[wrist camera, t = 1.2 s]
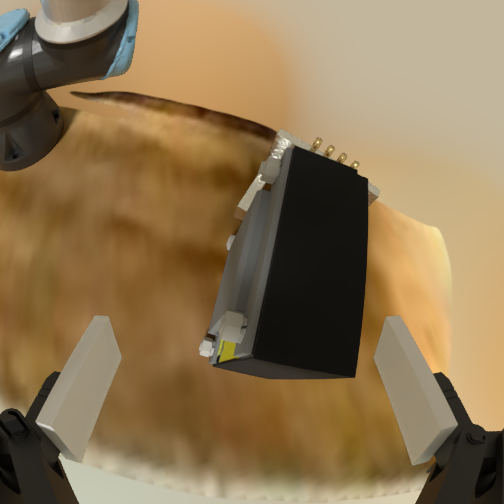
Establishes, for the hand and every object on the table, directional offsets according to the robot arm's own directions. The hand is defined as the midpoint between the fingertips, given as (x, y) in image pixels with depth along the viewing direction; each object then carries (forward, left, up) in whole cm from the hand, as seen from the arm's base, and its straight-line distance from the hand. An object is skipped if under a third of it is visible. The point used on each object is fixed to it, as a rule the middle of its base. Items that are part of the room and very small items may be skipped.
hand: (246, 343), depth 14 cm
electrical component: (+2, +10, -25) cm, 27 cm away
